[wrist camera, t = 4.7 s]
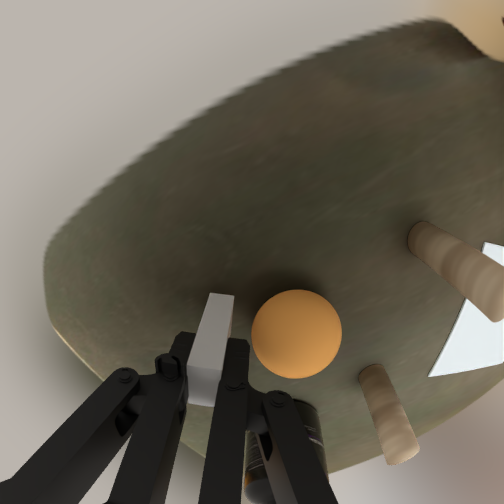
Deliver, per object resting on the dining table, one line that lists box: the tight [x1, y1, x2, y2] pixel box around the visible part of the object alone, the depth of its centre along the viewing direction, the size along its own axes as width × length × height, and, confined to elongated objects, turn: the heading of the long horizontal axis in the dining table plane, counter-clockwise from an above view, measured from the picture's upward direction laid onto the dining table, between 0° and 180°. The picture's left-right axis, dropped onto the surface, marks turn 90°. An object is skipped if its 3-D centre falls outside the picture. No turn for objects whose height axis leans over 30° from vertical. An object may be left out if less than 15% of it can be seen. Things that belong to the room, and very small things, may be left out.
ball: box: [251, 290, 342, 378], centre depth 17 cm, size 6×6×6 cm
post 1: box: [358, 364, 420, 465], centre depth 17 cm, size 2×2×9 cm
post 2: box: [407, 221, 504, 322], centre depth 13 cm, size 2×2×9 cm
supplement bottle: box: [244, 401, 329, 504], centre depth 18 cm, size 7×7×12 cm
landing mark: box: [428, 242, 504, 377], centre depth 19 cm, size 14×14×1 cm
